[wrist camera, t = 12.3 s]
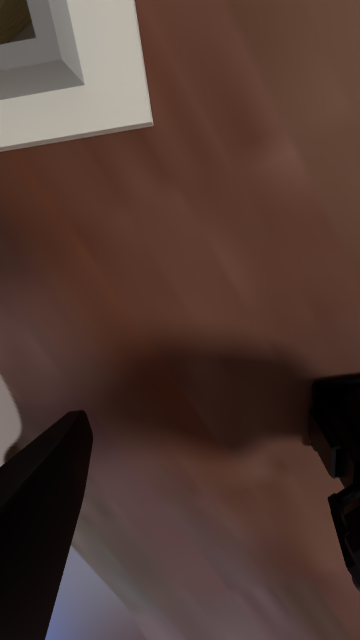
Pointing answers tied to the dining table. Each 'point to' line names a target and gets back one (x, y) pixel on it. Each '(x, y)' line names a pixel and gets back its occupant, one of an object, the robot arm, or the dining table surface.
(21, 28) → the tan wooden pillar
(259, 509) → the dining table surface
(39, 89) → the shaft mount
